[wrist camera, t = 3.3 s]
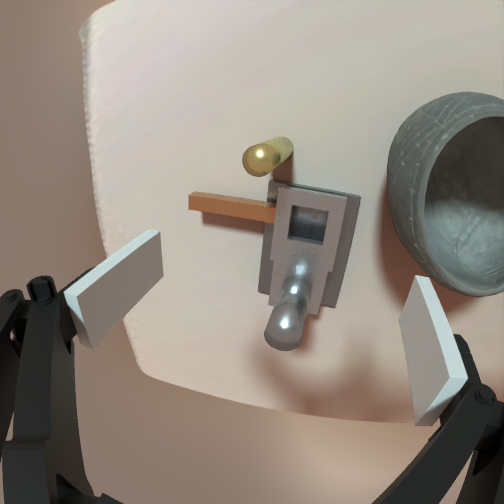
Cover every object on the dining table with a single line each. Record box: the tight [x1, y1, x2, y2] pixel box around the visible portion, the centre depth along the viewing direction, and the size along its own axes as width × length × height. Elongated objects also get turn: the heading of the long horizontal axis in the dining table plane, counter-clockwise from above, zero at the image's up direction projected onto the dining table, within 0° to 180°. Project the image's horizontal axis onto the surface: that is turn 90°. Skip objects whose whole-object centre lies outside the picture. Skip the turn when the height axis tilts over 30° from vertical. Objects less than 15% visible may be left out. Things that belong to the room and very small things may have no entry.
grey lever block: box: [189, 180, 361, 351], centre depth 37 cm, size 18×22×15 cm
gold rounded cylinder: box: [242, 137, 293, 177], centre depth 33 cm, size 3×3×12 cm
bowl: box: [387, 92, 504, 297], centre depth 26 cm, size 21×21×15 cm
